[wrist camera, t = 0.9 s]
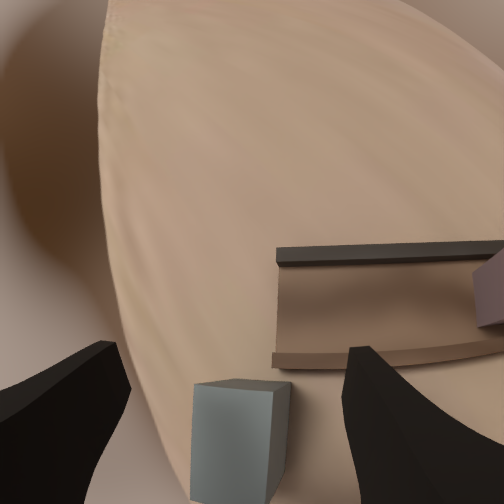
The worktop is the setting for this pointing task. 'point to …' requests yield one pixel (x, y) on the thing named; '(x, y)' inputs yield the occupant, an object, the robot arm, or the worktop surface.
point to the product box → (238, 440)
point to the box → (490, 291)
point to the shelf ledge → (381, 303)
